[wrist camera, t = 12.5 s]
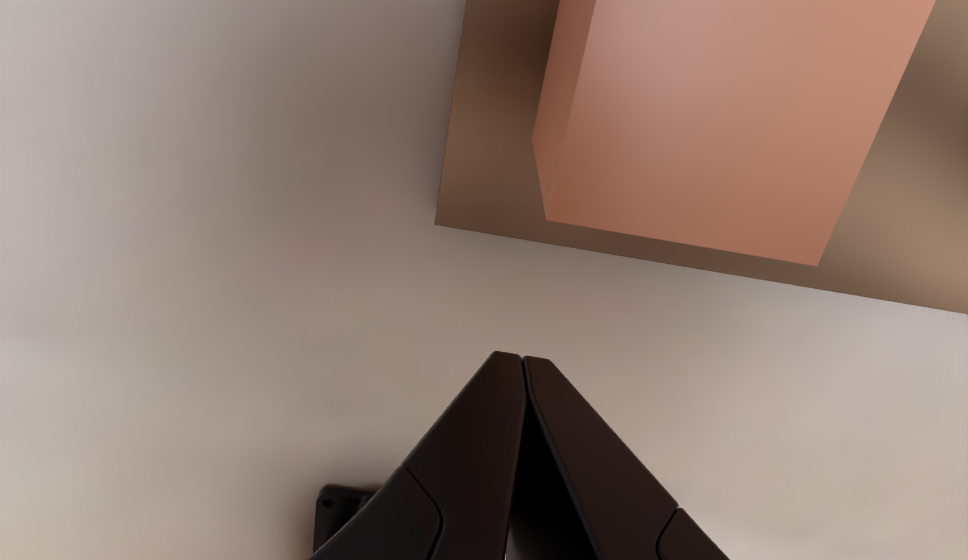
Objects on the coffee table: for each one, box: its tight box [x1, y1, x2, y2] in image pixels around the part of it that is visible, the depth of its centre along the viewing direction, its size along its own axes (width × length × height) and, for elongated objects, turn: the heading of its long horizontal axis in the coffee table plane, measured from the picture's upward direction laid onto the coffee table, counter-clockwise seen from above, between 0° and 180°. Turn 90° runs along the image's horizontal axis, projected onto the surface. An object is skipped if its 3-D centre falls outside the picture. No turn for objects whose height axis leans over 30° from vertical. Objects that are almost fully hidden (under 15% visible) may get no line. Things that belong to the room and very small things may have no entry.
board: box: [435, 0, 968, 314], centre depth 18 cm, size 12×22×1 cm, turn 80°
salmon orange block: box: [532, 0, 936, 266], centre depth 13 cm, size 5×5×7 cm
